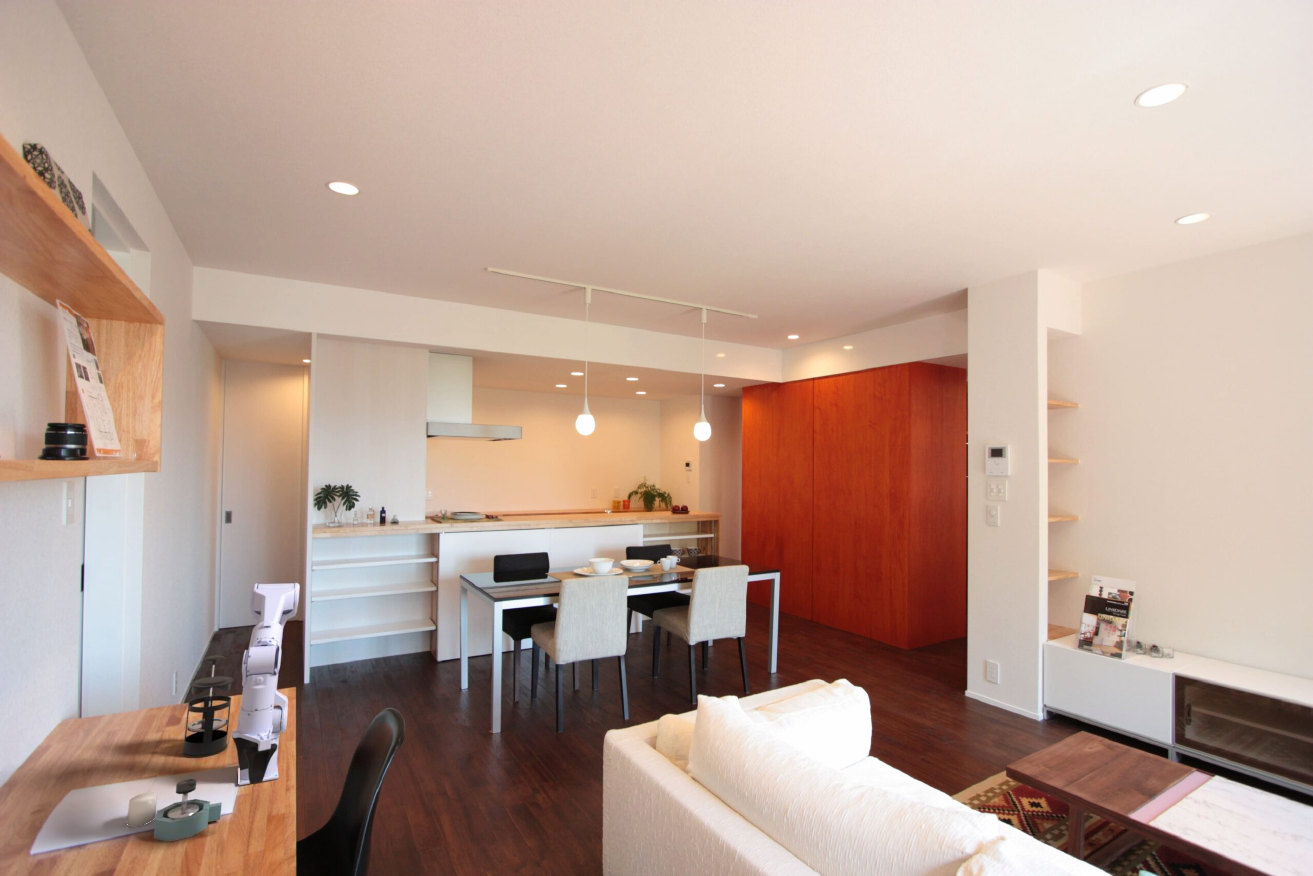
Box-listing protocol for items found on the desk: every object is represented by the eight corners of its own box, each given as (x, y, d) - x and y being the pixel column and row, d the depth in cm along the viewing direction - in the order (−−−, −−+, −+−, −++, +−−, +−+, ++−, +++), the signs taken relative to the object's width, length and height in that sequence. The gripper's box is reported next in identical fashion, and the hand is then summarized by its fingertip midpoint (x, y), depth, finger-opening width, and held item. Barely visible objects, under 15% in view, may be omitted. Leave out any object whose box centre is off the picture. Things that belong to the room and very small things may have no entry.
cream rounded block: (128, 818, 127) (131, 795, 128) (156, 813, 130) (158, 791, 130) (125, 829, 124) (127, 805, 124) (153, 823, 126) (156, 800, 126)
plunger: (168, 811, 125) (171, 780, 126) (199, 805, 128) (202, 775, 129) (166, 823, 121) (169, 791, 122) (198, 816, 124) (201, 785, 124)
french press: (228, 753, 158) (238, 659, 160) (182, 762, 152) (192, 664, 154) (225, 737, 167) (234, 648, 169) (181, 745, 162) (191, 652, 164)
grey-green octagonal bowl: (157, 824, 126) (159, 805, 126) (220, 811, 131) (222, 794, 132) (151, 845, 119) (154, 825, 119) (219, 831, 124) (221, 812, 125)
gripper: (225, 700, 131) (219, 768, 130) (244, 721, 121) (236, 795, 120) (264, 693, 136) (258, 759, 135) (285, 713, 126) (278, 784, 125)
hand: (250, 775), depth 128 cm, fingers open, 7 cm apart
